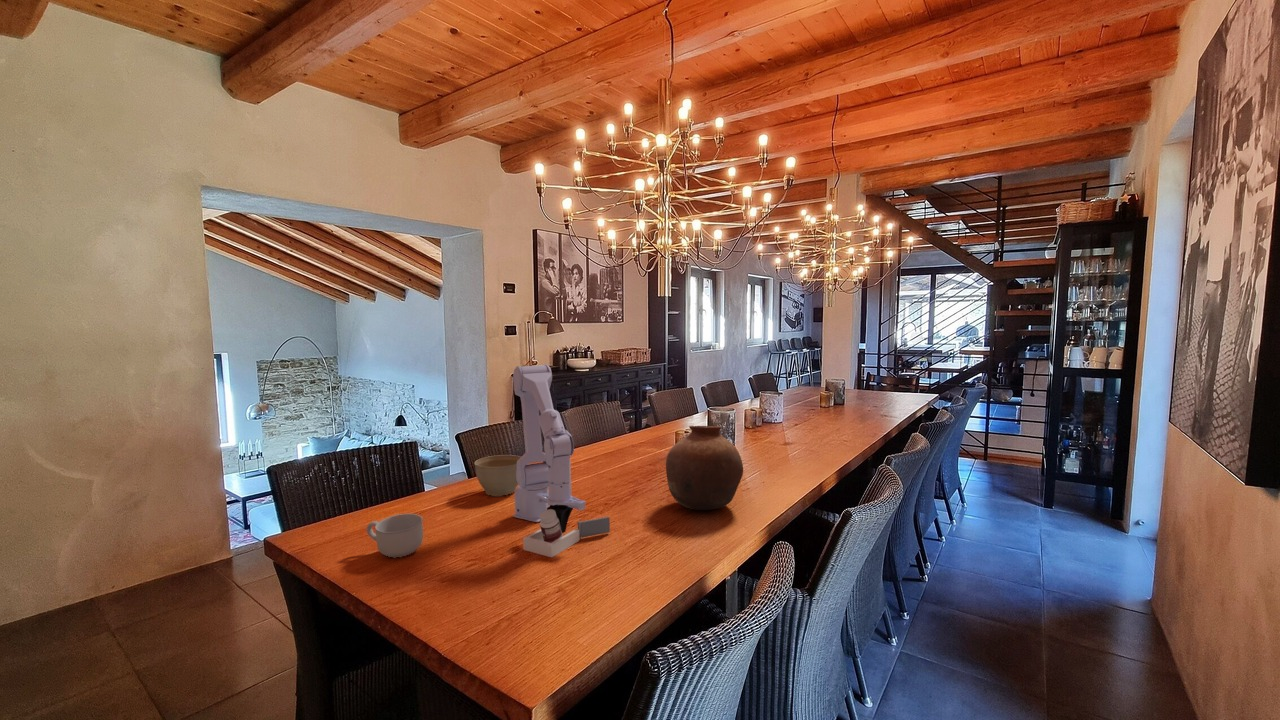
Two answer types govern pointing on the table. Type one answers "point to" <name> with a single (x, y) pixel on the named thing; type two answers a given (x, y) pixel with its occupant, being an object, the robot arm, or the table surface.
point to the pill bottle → (550, 526)
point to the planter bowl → (497, 474)
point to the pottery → (704, 469)
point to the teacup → (397, 534)
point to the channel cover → (594, 527)
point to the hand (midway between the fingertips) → (561, 532)
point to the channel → (539, 546)
